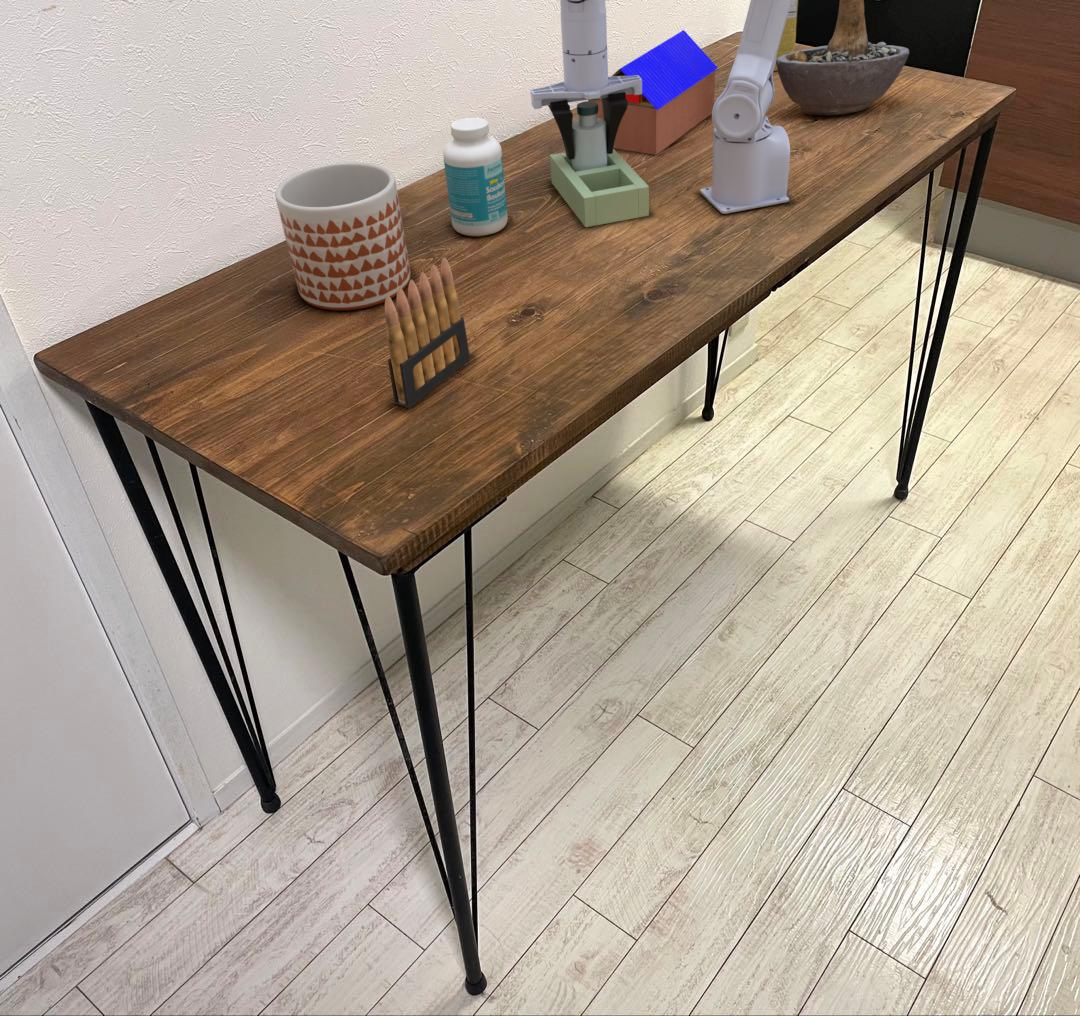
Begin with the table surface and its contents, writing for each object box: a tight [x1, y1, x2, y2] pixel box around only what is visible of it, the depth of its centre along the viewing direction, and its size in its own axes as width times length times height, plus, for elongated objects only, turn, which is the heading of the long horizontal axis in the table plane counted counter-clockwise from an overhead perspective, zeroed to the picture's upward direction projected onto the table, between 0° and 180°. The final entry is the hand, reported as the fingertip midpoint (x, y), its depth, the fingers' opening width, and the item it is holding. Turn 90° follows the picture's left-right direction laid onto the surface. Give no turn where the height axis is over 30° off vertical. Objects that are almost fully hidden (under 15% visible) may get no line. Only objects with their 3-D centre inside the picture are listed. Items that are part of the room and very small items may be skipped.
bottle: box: [572, 100, 607, 172], centre depth 138 cm, size 5×5×10 cm
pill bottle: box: [442, 117, 509, 237], centre depth 130 cm, size 8×7×14 cm
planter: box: [776, 0, 910, 116], centre depth 152 cm, size 15×17×20 cm
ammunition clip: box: [384, 256, 471, 409], centre depth 102 cm, size 11×2×12 cm, turn 147°
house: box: [587, 29, 719, 156], centre depth 154 cm, size 12×20×12 cm, turn 147°
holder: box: [549, 148, 650, 228], centre depth 138 cm, size 9×16×4 cm, turn 15°
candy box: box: [773, 0, 799, 72], centre depth 173 cm, size 9×4×15 cm, turn 5°
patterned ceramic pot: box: [274, 161, 412, 312], centre depth 120 cm, size 14×14×13 cm
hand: (589, 154), depth 139 cm, fingers closed on bottle, 5 cm apart
